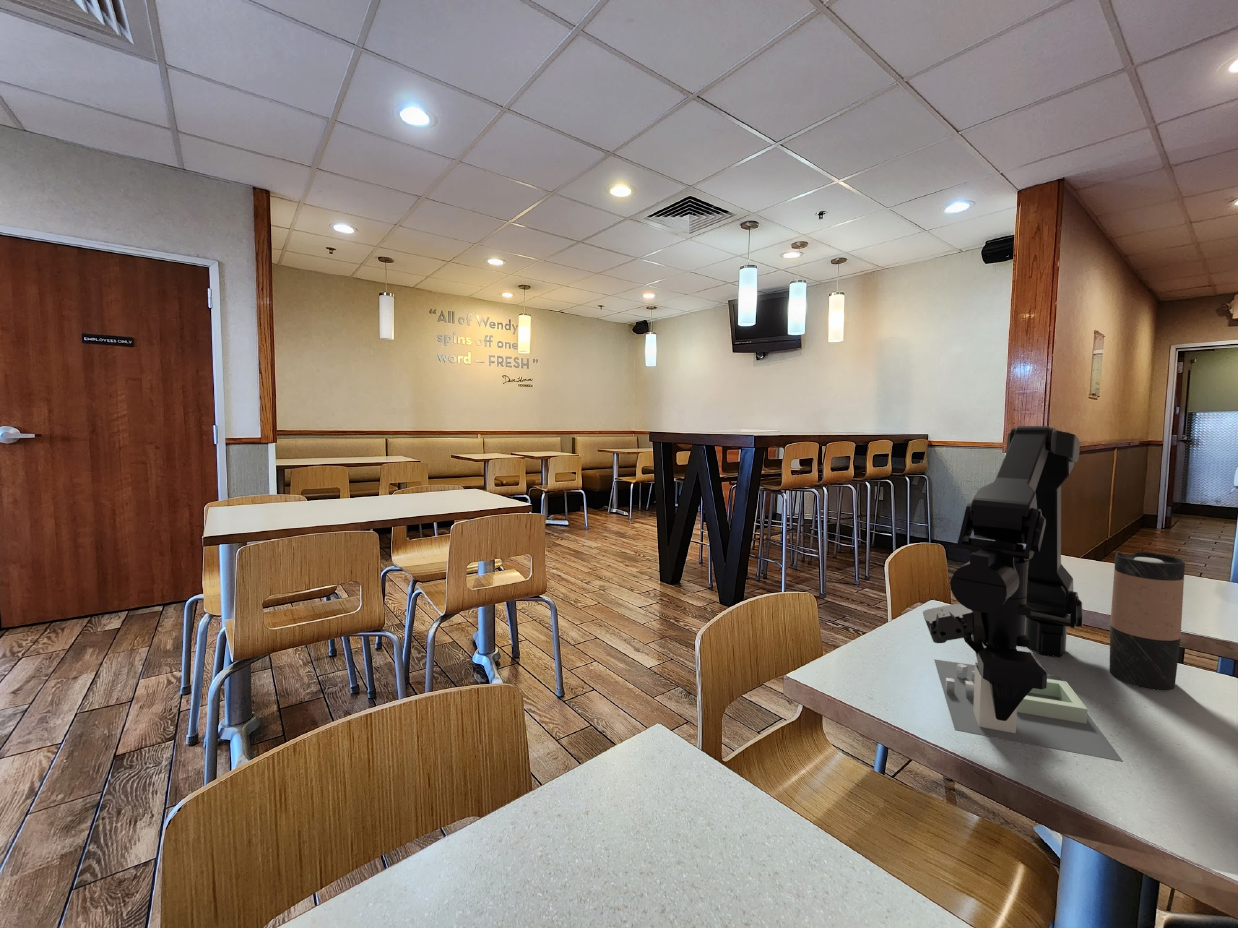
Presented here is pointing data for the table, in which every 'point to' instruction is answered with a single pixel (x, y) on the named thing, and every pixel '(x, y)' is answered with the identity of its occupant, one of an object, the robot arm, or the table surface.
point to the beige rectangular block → (989, 707)
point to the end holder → (1055, 703)
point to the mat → (1025, 721)
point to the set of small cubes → (962, 675)
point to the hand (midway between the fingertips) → (994, 705)
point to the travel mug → (1146, 619)
